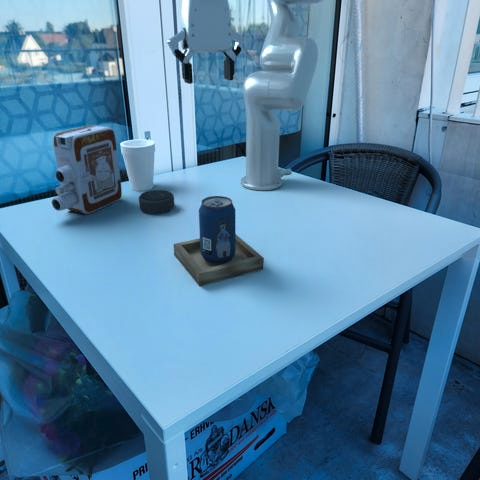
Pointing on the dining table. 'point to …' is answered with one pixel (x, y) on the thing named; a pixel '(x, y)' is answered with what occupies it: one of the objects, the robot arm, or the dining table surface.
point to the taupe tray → (209, 273)
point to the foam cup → (139, 163)
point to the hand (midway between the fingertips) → (209, 81)
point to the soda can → (217, 230)
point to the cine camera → (86, 169)
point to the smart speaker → (156, 201)
